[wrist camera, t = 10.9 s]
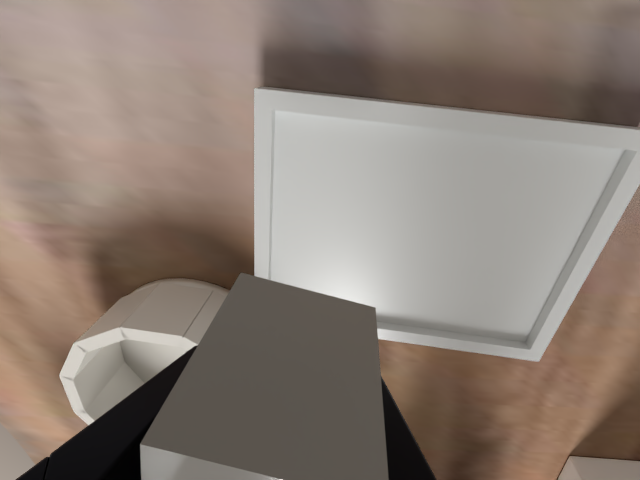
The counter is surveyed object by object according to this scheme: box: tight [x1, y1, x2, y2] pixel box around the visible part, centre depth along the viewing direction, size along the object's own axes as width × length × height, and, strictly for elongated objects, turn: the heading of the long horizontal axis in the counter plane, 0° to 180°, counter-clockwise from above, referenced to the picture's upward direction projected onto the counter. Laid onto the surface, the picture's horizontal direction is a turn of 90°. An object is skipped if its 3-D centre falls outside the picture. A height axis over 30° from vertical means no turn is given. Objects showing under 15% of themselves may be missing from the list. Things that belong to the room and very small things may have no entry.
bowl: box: [59, 278, 230, 425], centre depth 22 cm, size 13×13×5 cm
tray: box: [254, 87, 640, 362], centre depth 17 cm, size 17×13×2 cm
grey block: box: [140, 273, 389, 480], centre depth 7 cm, size 4×4×4 cm
